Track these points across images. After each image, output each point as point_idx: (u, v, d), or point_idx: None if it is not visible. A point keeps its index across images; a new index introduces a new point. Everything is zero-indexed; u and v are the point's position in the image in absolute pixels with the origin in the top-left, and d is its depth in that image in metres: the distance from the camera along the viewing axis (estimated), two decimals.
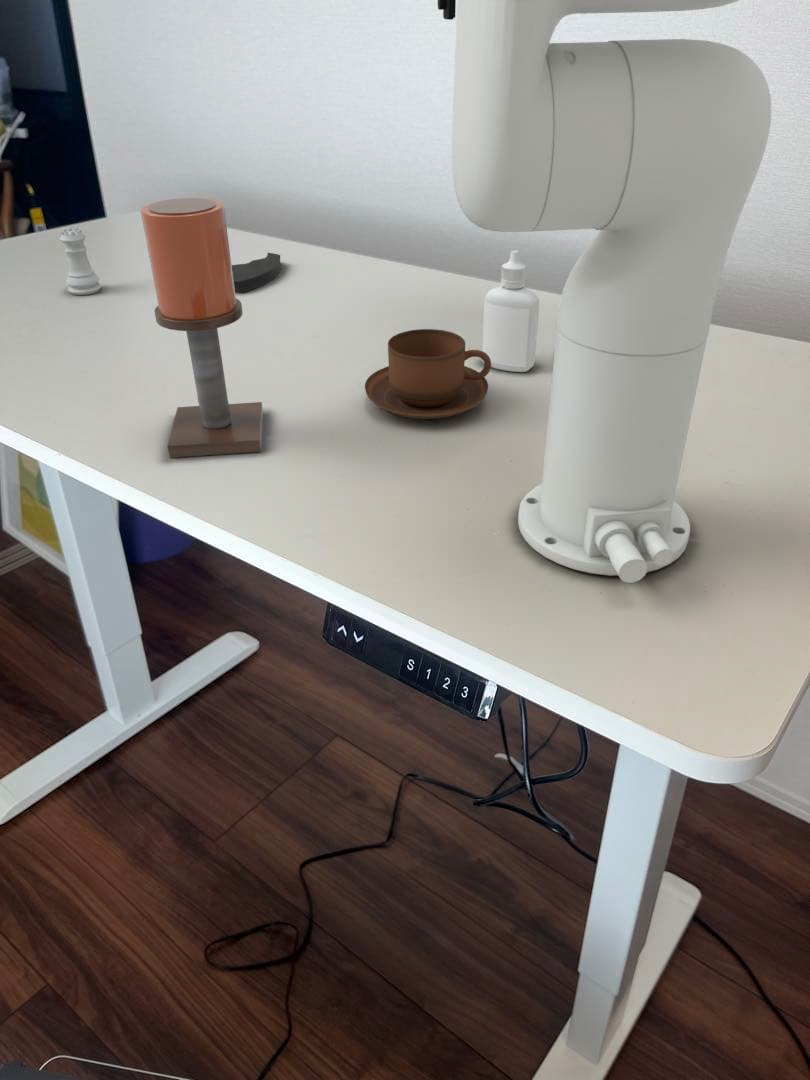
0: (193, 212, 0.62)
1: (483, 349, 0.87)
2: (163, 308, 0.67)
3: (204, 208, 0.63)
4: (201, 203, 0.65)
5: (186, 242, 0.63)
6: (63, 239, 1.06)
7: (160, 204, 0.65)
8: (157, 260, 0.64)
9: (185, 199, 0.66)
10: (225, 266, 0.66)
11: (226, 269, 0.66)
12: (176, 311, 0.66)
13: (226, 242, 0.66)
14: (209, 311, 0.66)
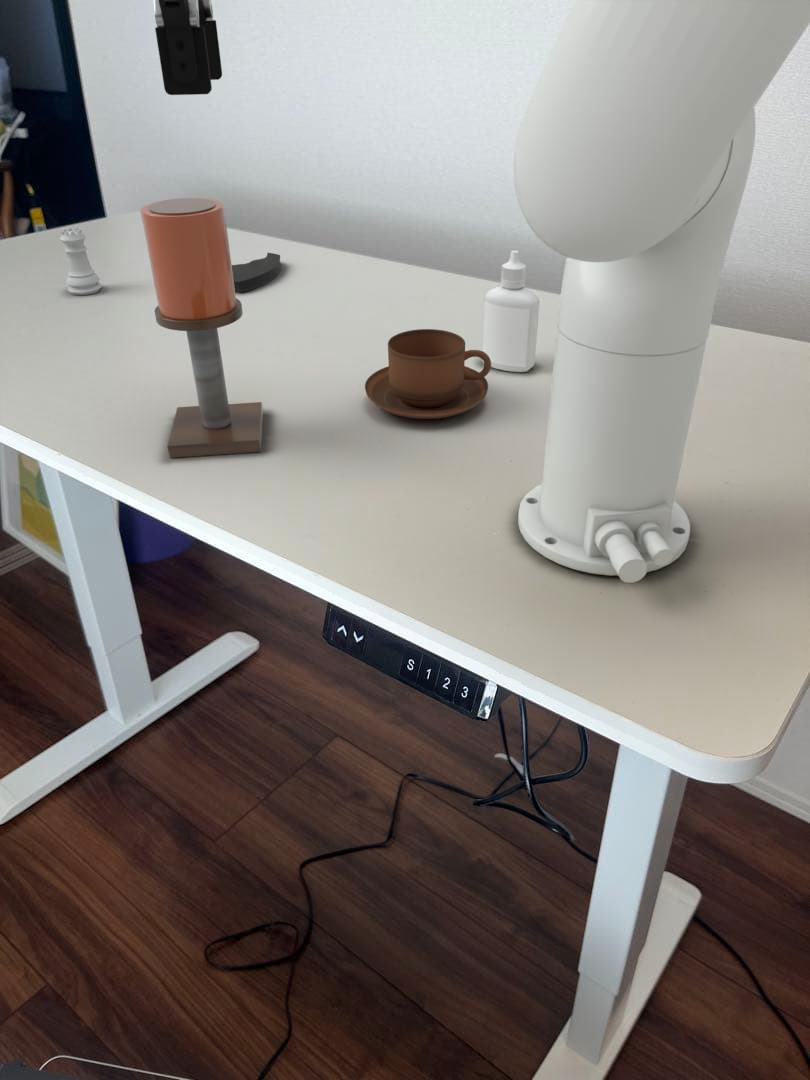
0: (193, 212, 0.62)
1: (483, 349, 0.87)
2: (163, 308, 0.67)
3: (204, 208, 0.63)
4: (201, 203, 0.65)
5: (186, 242, 0.63)
6: (63, 239, 1.06)
7: (160, 204, 0.65)
8: (157, 260, 0.64)
9: (185, 199, 0.66)
10: (225, 266, 0.66)
11: (226, 269, 0.66)
12: (176, 311, 0.66)
13: (226, 242, 0.66)
14: (209, 311, 0.66)
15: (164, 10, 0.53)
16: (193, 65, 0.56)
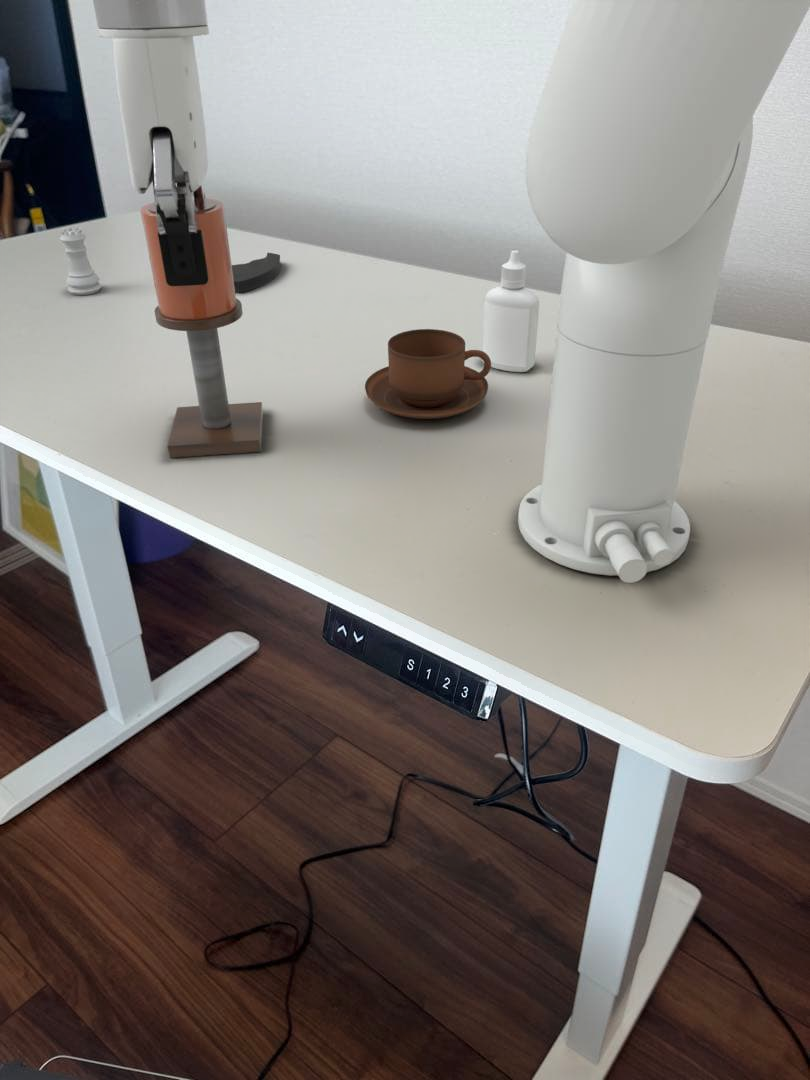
0: None
1: (483, 349, 0.87)
2: (163, 308, 0.67)
3: (204, 208, 0.63)
4: (201, 203, 0.65)
5: None
6: (63, 239, 1.06)
7: None
8: (157, 260, 0.64)
9: None
10: (225, 266, 0.66)
11: (226, 269, 0.66)
12: (176, 311, 0.66)
13: (226, 242, 0.66)
14: (209, 311, 0.66)
15: (166, 224, 0.60)
16: (192, 264, 0.62)
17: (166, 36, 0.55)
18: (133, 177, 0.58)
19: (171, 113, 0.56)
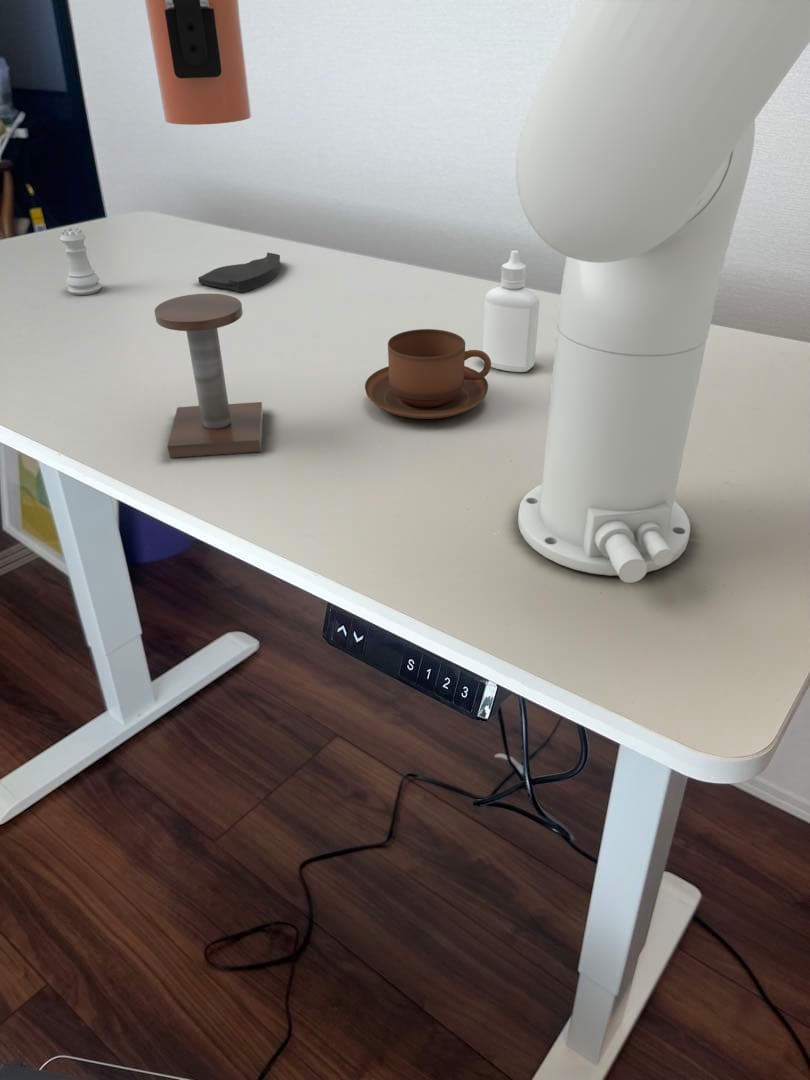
0: None
1: (483, 349, 0.87)
2: (170, 113, 0.59)
3: None
4: None
5: None
6: (63, 239, 1.06)
7: None
8: (164, 51, 0.57)
9: None
10: (240, 63, 0.59)
11: (240, 67, 0.59)
12: (185, 114, 0.59)
13: (240, 35, 0.58)
14: (222, 114, 0.59)
15: None
16: (203, 47, 0.55)
17: None
18: None
19: None
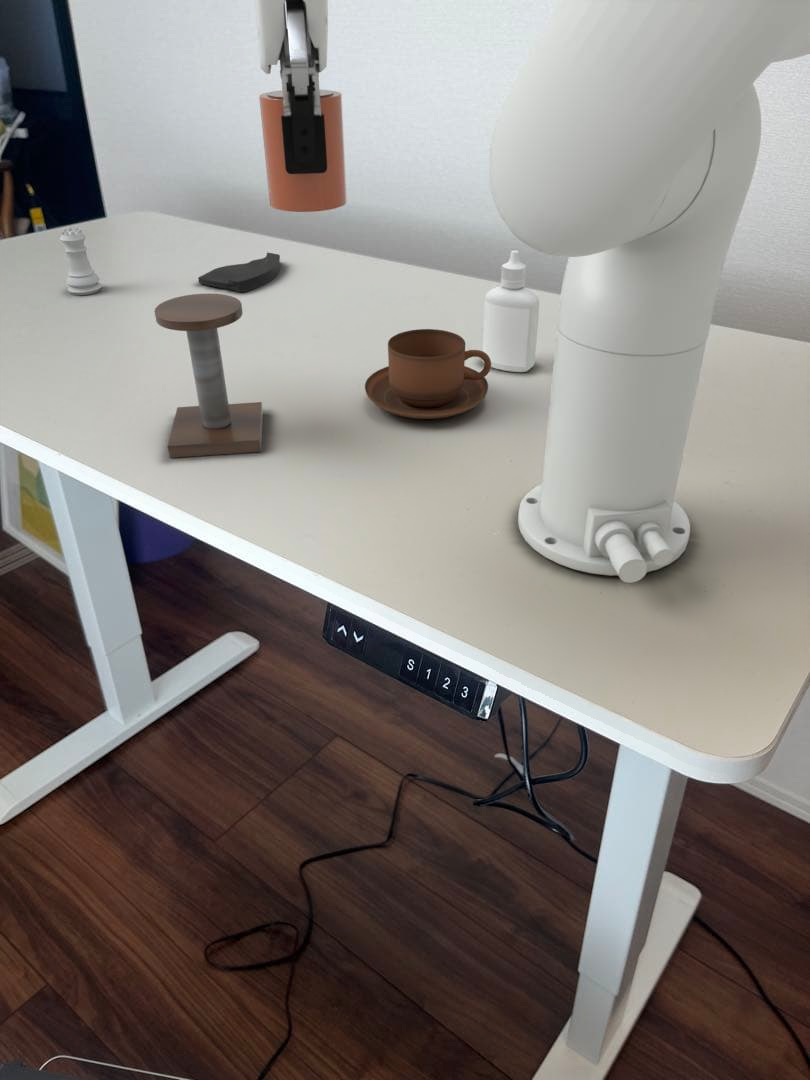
0: None
1: (483, 349, 0.87)
2: (277, 201, 0.66)
3: (324, 94, 0.63)
4: None
5: None
6: (63, 239, 1.06)
7: (277, 92, 0.64)
8: (276, 148, 0.63)
9: None
10: (341, 157, 0.65)
11: (341, 160, 0.65)
12: (291, 203, 0.65)
13: (342, 132, 0.65)
14: (324, 203, 0.66)
15: (293, 103, 0.59)
16: (314, 149, 0.62)
17: None
18: (263, 53, 0.58)
19: None
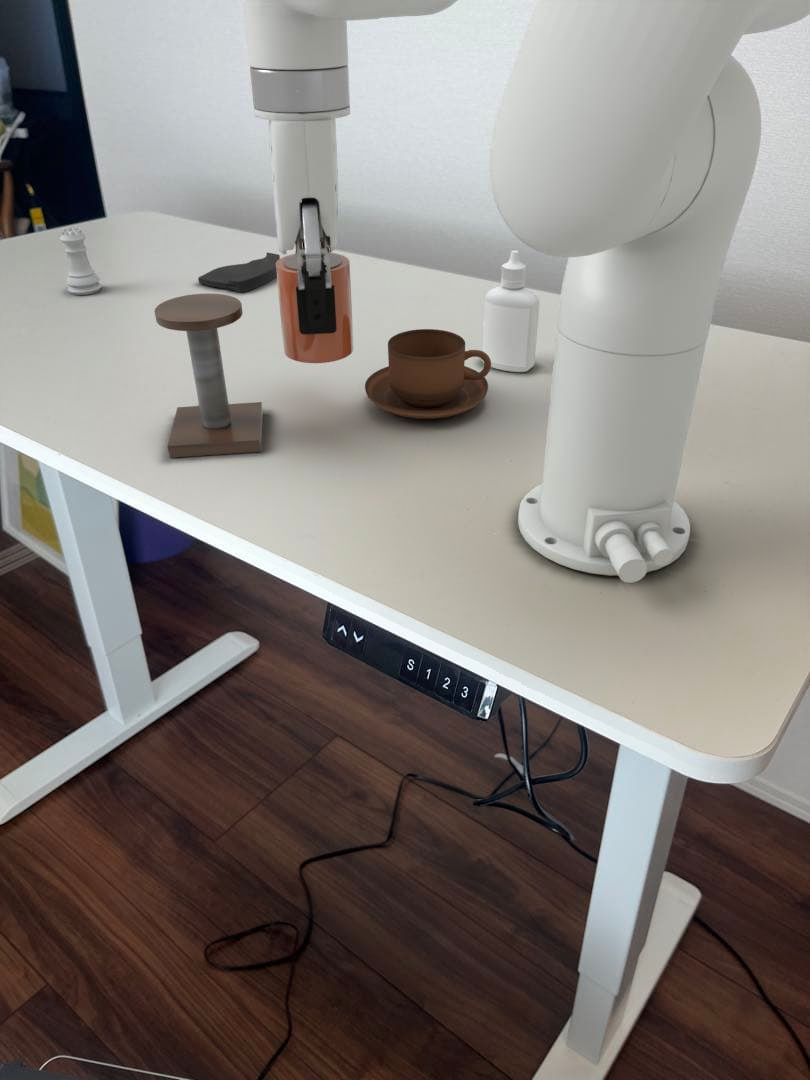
0: None
1: (483, 349, 0.87)
2: (290, 352, 0.73)
3: (334, 264, 0.70)
4: None
5: None
6: (63, 239, 1.06)
7: (292, 259, 0.71)
8: (290, 310, 0.71)
9: None
10: (349, 315, 0.73)
11: (349, 317, 0.73)
12: (304, 355, 0.73)
13: (350, 293, 0.72)
14: (333, 355, 0.73)
15: (307, 282, 0.66)
16: (325, 315, 0.69)
17: (319, 119, 0.62)
18: (281, 241, 0.65)
19: (320, 186, 0.63)
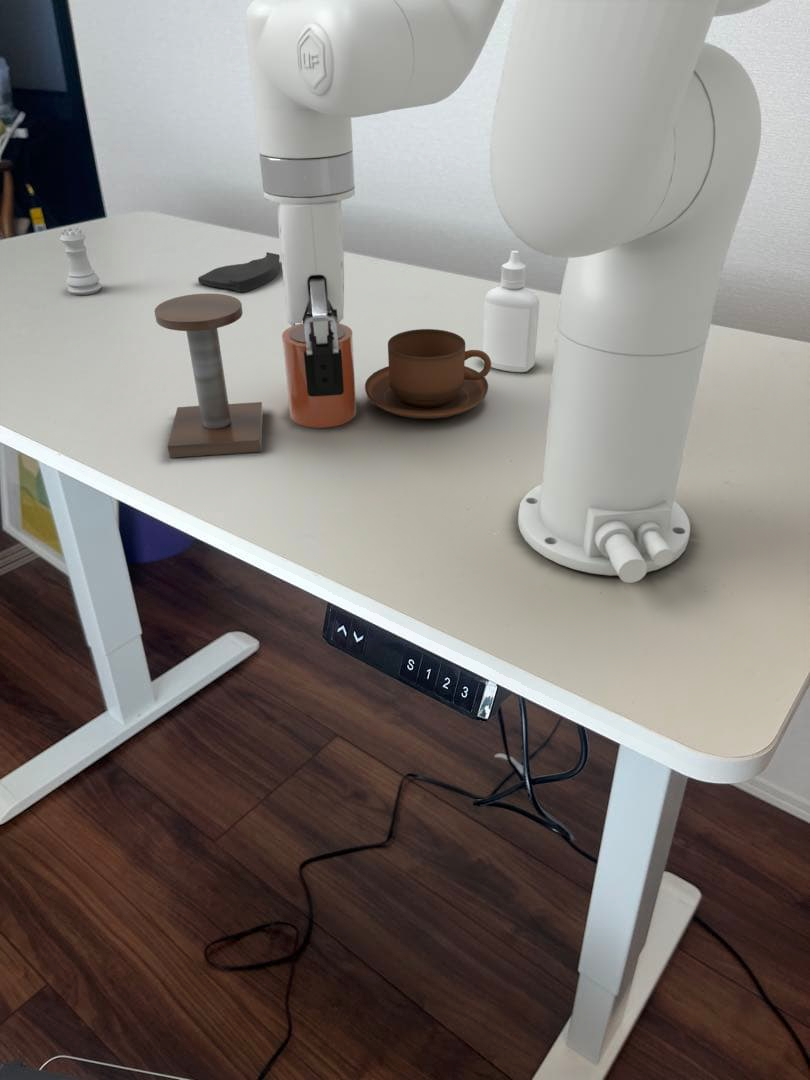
0: None
1: (483, 349, 0.87)
2: (296, 417, 0.77)
3: (338, 336, 0.74)
4: None
5: None
6: (63, 239, 1.06)
7: (297, 330, 0.75)
8: (296, 379, 0.74)
9: None
10: (352, 382, 0.76)
11: (352, 384, 0.76)
12: (309, 421, 0.76)
13: (353, 362, 0.76)
14: (337, 420, 0.76)
15: (315, 348, 0.68)
16: (332, 379, 0.71)
17: (326, 202, 0.65)
18: (290, 314, 0.68)
19: (327, 264, 0.66)
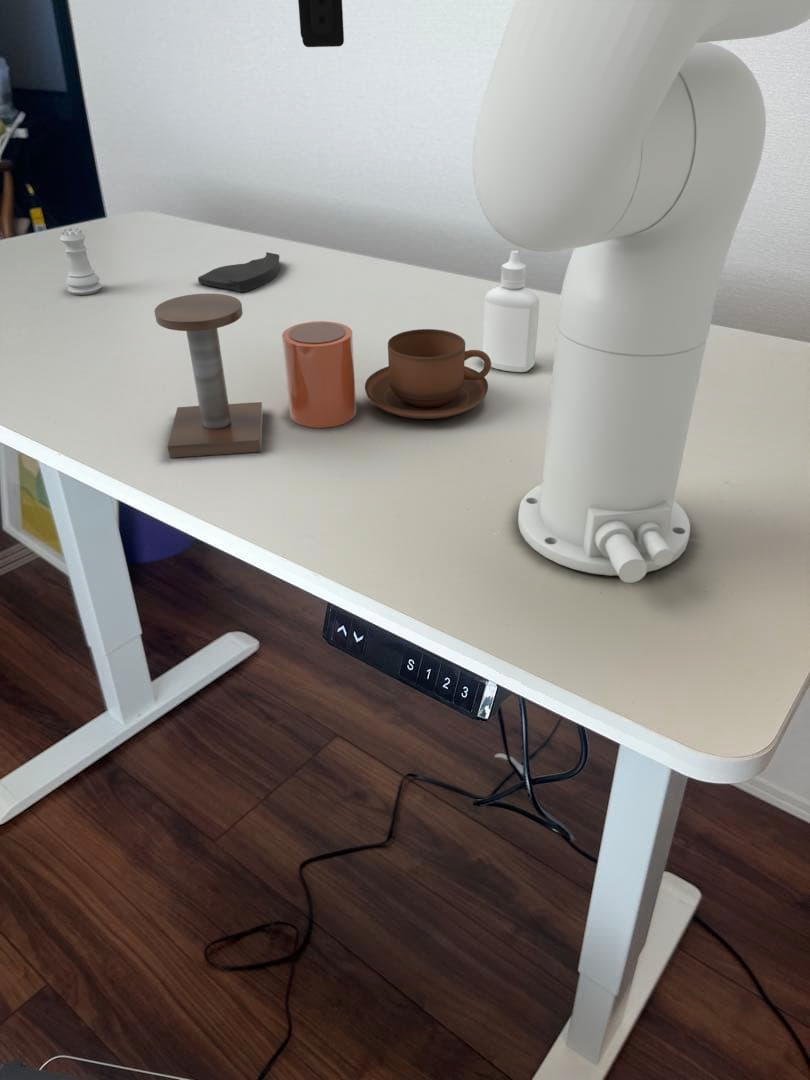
0: (330, 341, 0.73)
1: (483, 349, 0.87)
2: (296, 417, 0.77)
3: (338, 336, 0.74)
4: (333, 329, 0.75)
5: (324, 366, 0.73)
6: (63, 239, 1.06)
7: (297, 330, 0.75)
8: (296, 379, 0.74)
9: (316, 324, 0.76)
10: (352, 382, 0.76)
11: (352, 384, 0.76)
12: (309, 421, 0.76)
13: (353, 362, 0.76)
14: (337, 420, 0.76)
15: None
16: (331, 19, 0.62)
17: None
18: None
19: None
